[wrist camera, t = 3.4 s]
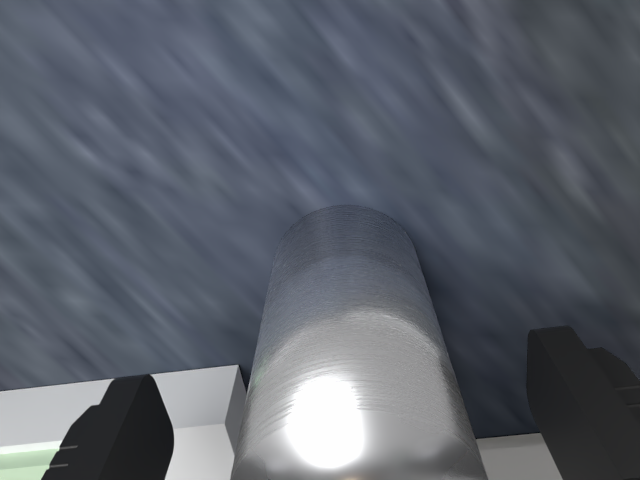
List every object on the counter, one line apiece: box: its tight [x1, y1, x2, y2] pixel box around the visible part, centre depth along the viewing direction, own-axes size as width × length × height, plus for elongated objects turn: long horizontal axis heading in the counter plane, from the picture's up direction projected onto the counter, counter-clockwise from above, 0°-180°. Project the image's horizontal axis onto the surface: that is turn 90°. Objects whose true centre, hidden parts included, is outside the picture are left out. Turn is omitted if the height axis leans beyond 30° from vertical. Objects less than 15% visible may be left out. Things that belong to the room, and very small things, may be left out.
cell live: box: [230, 205, 488, 480], centre depth 12 cm, size 4×4×9 cm
